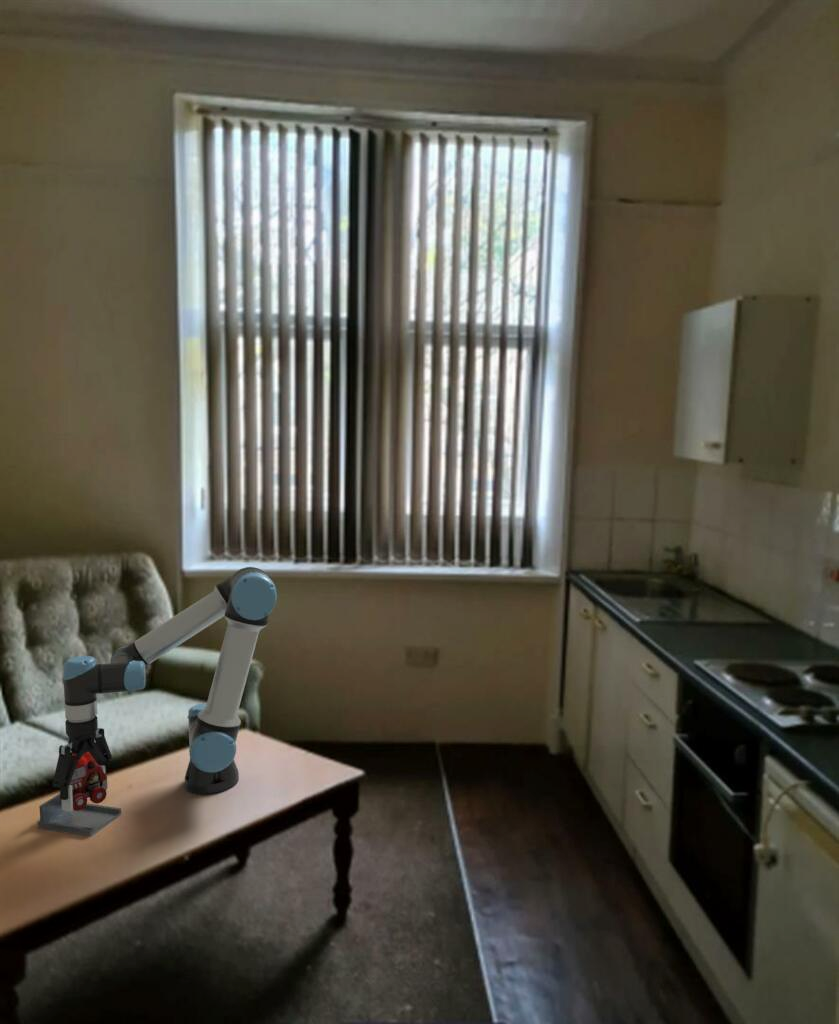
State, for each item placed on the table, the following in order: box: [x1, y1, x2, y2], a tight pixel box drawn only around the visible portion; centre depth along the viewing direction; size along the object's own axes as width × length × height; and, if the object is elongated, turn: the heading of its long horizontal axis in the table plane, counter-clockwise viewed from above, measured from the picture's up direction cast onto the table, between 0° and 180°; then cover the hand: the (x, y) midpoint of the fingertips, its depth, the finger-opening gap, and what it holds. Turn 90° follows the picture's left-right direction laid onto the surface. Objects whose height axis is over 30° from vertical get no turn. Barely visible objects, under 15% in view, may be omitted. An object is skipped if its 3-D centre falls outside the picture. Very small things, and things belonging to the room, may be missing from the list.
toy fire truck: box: [60, 760, 108, 811], centre depth 193 cm, size 7×12×10 cm, turn 140°
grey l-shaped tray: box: [37, 793, 122, 837], centre depth 195 cm, size 16×12×6 cm
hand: (84, 799), depth 194 cm, fingers closed on toy fire truck, 11 cm apart
